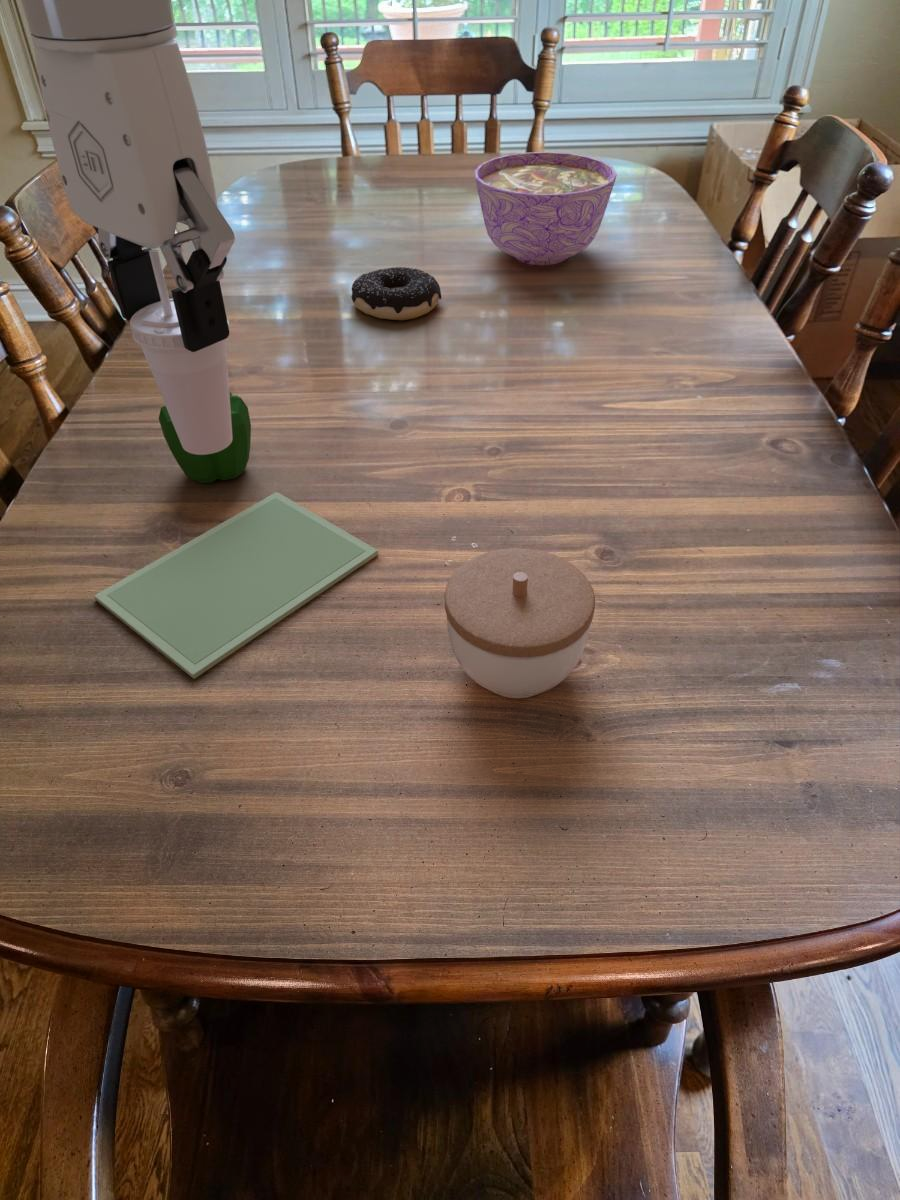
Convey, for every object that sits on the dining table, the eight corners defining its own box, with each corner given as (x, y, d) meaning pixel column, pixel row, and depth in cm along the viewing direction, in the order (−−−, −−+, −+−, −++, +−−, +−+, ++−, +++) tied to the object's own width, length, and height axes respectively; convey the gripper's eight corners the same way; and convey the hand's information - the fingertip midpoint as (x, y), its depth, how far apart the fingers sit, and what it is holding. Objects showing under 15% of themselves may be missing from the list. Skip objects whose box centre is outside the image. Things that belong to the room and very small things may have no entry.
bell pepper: (236, 499, 84) (215, 408, 77) (161, 486, 86) (135, 396, 79) (273, 454, 90) (257, 365, 83) (203, 443, 92) (181, 355, 85)
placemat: (194, 679, 67) (192, 674, 66) (95, 600, 74) (93, 595, 73) (378, 554, 78) (378, 549, 77) (277, 495, 85) (276, 491, 84)
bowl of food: (532, 222, 140) (536, 143, 132) (635, 252, 130) (645, 169, 122) (446, 257, 130) (444, 174, 122) (550, 293, 119) (555, 205, 111)
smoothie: (156, 430, 66) (104, 241, 56) (240, 412, 67) (203, 226, 58) (171, 473, 61) (116, 275, 52) (260, 452, 63) (223, 258, 54)
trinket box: (614, 683, 66) (630, 590, 59) (499, 745, 61) (502, 652, 55) (529, 603, 72) (535, 512, 66) (420, 655, 68) (415, 563, 62)
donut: (419, 329, 111) (418, 299, 109) (337, 316, 115) (334, 286, 112) (451, 296, 119) (450, 267, 116) (373, 284, 122) (371, 256, 120)
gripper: (-44, 1, 48) (58, 311, 60) (128, 36, 40) (207, 390, 52) (77, -15, 53) (150, 279, 65) (257, 14, 44) (303, 346, 56)
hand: (175, 326), depth 58 cm, fingers closed on smoothie, 6 cm apart
